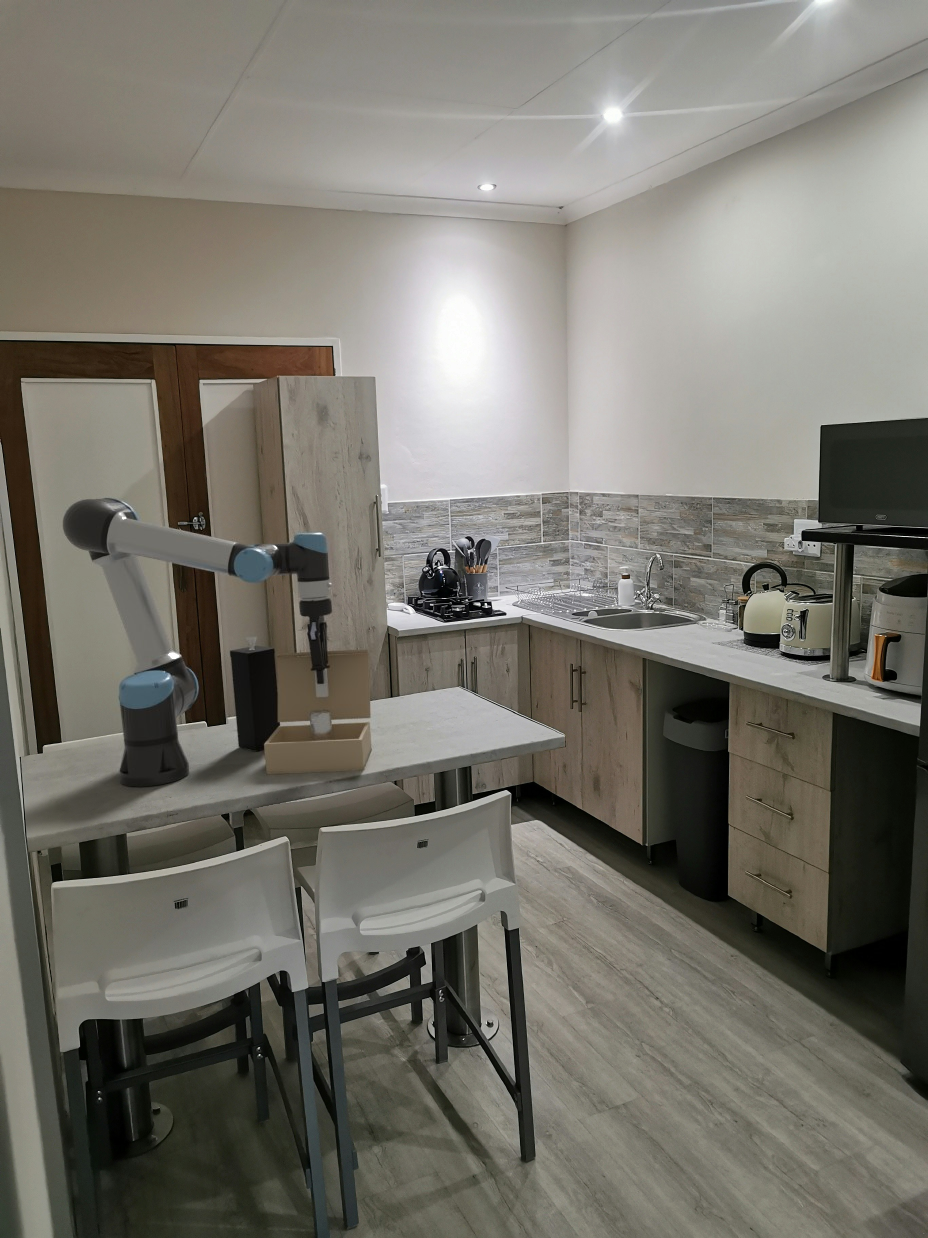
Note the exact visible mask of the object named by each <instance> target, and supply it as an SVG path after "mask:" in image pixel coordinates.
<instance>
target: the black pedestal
mask: <svg viewBox="0 0 928 1238" xmlns="http://www.w3.org/2000/svg"><path fill="white" fill-rule="evenodd" d="M245 639H246V642H247V645H248V647H242V648H237V649H232V650H229V656H230V663H231V675H232V676H231V677H232V684H233V685H232V686H233V687H232V688H233V698H234V707H235V720H236V721H235V722H236V731H237V732H236V733H237V741H238V742H237V743H238V745H237V746H238V748H241V749H245V750H249V751H251V752H260V751H263V750H265V749H264V744H265V742H266V741H267V740H268V739H269V738H270V736H271V735H272V734H273V733H274V731H275V730H276V729H277V728H278V727H279V726H281V722H278V678H277V668H276V657H275V656H276V652H275V651H276V650H275V648H274V647H267V646H262V645H261V646H260V645H256V642H257V639H258V636H246V637H245Z"/></svg>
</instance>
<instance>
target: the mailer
mask: <svg viewBox="0 0 928 1238" xmlns="http://www.w3.org/2000/svg"><path fill="white" fill-rule="evenodd" d="M332 735H333V740H323V741H311V727H310V723H309V724H292V725H291V724H290V725H289V724H288V725H280V726H279V727H278V728H277V729H276V730H275V731H274V733H273V734H272V735H271V736H270V738H269V739H268V740H267V741H266V742H265V744H264V749H263V750H264V759H265V769H266V775H277V774H278V775H279V774H280V775H281V774H300V773H303V774H304V773H319V772H320V773H321V772H323V773H325V772H343V771H345V772H346V771H349V772H350V771H364V770H365V768H366V766H367V763H368V761H369V758H370V755H371V752H372V750H373V749H372V736H371V735H372V733H371V722H370V721H360V722H359V721H358V722H357V721H355V722H334V723H333V722H332Z"/></svg>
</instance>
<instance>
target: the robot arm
mask: <svg viewBox="0 0 928 1238" xmlns="http://www.w3.org/2000/svg"><path fill="white" fill-rule="evenodd" d="M62 530H63V533H64V535H65V537H66V539H67V540H68V541H69V542H70V544H72V545H73V546H74V547H76V548H78V549H80V550H82V551H88V553H89V557H90V559H91V562H92V563H93V564H95V565H97V566H99V567H100V568H101V569H102V572H103V574H104V576H105V579H106V582H107V585H108V587H109V590H110V593H111V596H112V599H113V601H114V604H115V607H116V610H117V611H118V614H119V617H120V620H121V622H122V625H123V629H124V630H125V633H126V636H127V639H128V641H129V644H130V647H131V649H132V652H133V655H134V658H135V660H136V665H135V667H134V669H133V674H130V675H128V676H126V677H125V678H123V679H122V680H121V681H120V683H119V685H118V701H119V708H120V717H121V726H122V735H123V743H124V748H123V749H124V750H123V753H122V758H121V762H120V767H119V771H118V775H119V782H120V784H122V785H123V786H127V787H138V788H139V787H140V788H141V787H151V786H152V787H154V786H158V785H159V786H160V785H164V784H168V783H172V782H176V781H179V780H180V779H183V778H185V777H187V776H188V775H189V774H190V764H189V760H188V758H187V756H186V754H185V751H184V749H183V747H182V746H181V742H180V739H179V732H178V722H177V721H178V720H177V718H178V717H179V716H181V715H182V714H185V712H187V711H188V710H189V709H191V707H192V706H193V704H194V703H195V701H196V700H197V698H198V695H199V690H200V689H199V681H198V679H197V676H196V674H195V673H194V671H192V669H191V668H189V667H187V666H186V664H185V661H184V659H183V655H182V654H180V653H179V652H176V651H174V650H173V647H172V645H171V642H170V639H169V637H168V634H167V630H166V628H165V625H164V622H163V620H162V618H161V614H160V612H159V609H158V606H157V604H156V601H155V598H154V596H153V592H152V589H151V588H150V587H151V586H150V584H149V581H148V579H147V577H146V574H145V571H144V569H143V565H142V563H141V560H140V557H143V558H148V559H151V560H152V559H153V560H158V561H162V562H167V563H171V564H175V565H181V566H186V567H190V568H194V569H199V570H204V571H208V572H212V573H213V572H214V573H217V574H222V575H227V576H230V577H235V578H238V579H240V580H242V581H244V583H245V582H246V583H251V584H257V583H261V582H263V581H266V580H267V579H268V578H271V577H274V576H275V577H276V576H287V575H296V577H297V578H296V579H297V594H298V598H299V599H300V600H299V602H298V604H299V614H300V616H302V617H304V618H305V617H306V618H307V617H308V618H309V620H308V621H309V623H308V624H307V626H306V627H307V632H306V635H307V639H308V646H309V652H310V654H311V661H312V668H311V671H314V672H315V684H316V697H328V696H329V692H328V679H327V669H325V668H330V665H327V664H328V653H327V651H328V624H327V621H325V616H329V615H331V614H332V613H333V607H332V606H333V604H332V599H331V598H330V596H331V588H332V587H333V583H331V582H330V568H329V567H330V566H329V565H330V564H329V550H328V545H327V538H326V535H325V534H324V533H323V532H318V531H317V532H303V533H295V534H294V536H293V541H291V542H283V543H281V542H280V543H279V542H278V543H255V544H245V543H240V542H237V541H231V540H226V539H222V538H218V537H213V536H209V535H204V534H200V533H194V532H191V531H186V530H182V529H176V528H173V527H168V526H164V525H159V524H154V523H150V522H146V521H143V520H142V521H141V520H140V517H139V516H138V514H137V512H136V510H135V509H134V508H133V507H132V506H131V505H130V504H128V503H127V502H125V501H123V500H120V499H116V498H114V497H113V498H112V497H104V498H86V499H81V500H77V501H75V502H74V503H72V504H71V505H70V506H69V507H68V509H67V510H66V511H65V513H64V515H63V518H62Z"/></svg>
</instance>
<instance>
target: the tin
mask: <svg viewBox="0 0 928 1238" xmlns="http://www.w3.org/2000/svg"><path fill="white" fill-rule="evenodd" d="M309 714H310V721H309V724H310V727H311V741H323V740H333V735H332V723H333V722H332V721H333V720H331V711H330V710H315V711H311V712H310V713H309Z"/></svg>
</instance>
